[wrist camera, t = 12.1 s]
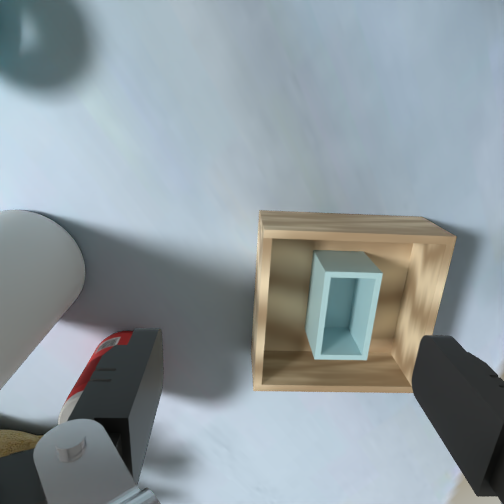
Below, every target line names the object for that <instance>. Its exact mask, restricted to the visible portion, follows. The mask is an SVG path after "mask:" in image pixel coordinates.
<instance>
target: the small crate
mask: <svg viewBox="0 0 504 504" xmlns="http://www.w3.org/2000/svg"><path fill="white" fill-rule="evenodd" d="M382 275H383V273H382V272H381V271H380V269H379V268H378V267H377V266H376V265H375V264H374V263H373V262H372V261H371V259H370V258H369V257H368V256H367V255H366V254H365V253H364V252H363V251H333V250H313V257H312V266H311V275H310V284H309V293H308V302H307V312H306V321H305V331H306V335H307V338H308V341H309V344H310V347H311V350H312V353H313V357H314V359H319V360H367V357H368V352H369V346H370V341H371V335H372V330H373V324H374V319H375V313H376V308H377V303H378V297H379V292H380V286H381V281H382Z"/></svg>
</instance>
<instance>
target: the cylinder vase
mask: <svg viewBox="0 0 504 504" xmlns="http://www.w3.org/2000/svg"><path fill="white" fill-rule="evenodd" d="M84 281H85V264H84V259H83V256H82V253H81V251H80V249H79V247H78V245H77V244H76V242H75V241H74V239H73V238H72V237H71V236H70V234H69V233H68V232H67V231H66V230H65V229H63V228H62V227H61V226H60V225H58V224H57V223H56V222H54V221H52V220H51V219H49V218H47V217H45V216H42V215H40V214H37V213H34V212H30V211H24V210H5V211H0V390H1V389H2V387H3V386H4V385H5V384H6V383H7V381H8V380H9V379H10V378H11V377H12V375H13V374H14V373H15V372H16V371H17V369H18V368H19V367H20V366H21V365H22V363H23V362H24V361H25V360H26V359H27V357H28V356H29V355H30V354H31V353H32V351H33V350H34V349H35V348H36V347H37V346H38V344H39V343H40V342H41V341H42V340H43V338H44V337H45V336H46V335H47V334H48V332H49V331H50V330H51V329H52V328H53V326H54V325H55V324H56V323H57V322H58V320H59V319H60V318H61V317H62V316H63V314H64V313H65V312H66V311H67V310H68V308H69V307H70V306H71V305H72V304H73V302H74V301H75V300H76V299H77V297H78V296H79V294H80V292H81V290H82V288H83V285H84Z"/></svg>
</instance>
